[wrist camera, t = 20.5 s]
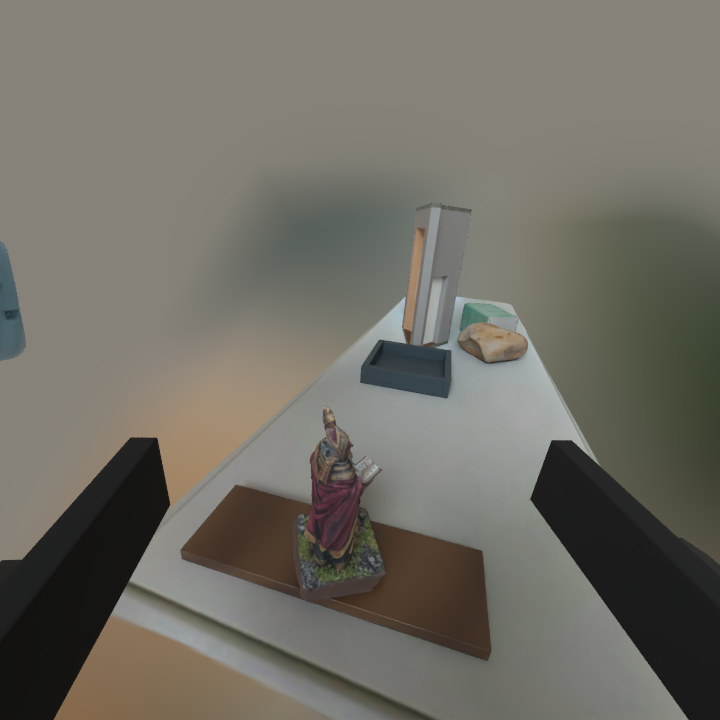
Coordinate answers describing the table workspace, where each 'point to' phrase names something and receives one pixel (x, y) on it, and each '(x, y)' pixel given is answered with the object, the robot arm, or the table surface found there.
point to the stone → (492, 342)
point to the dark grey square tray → (408, 368)
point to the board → (380, 606)
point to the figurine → (336, 523)
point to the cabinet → (434, 273)
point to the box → (487, 316)
